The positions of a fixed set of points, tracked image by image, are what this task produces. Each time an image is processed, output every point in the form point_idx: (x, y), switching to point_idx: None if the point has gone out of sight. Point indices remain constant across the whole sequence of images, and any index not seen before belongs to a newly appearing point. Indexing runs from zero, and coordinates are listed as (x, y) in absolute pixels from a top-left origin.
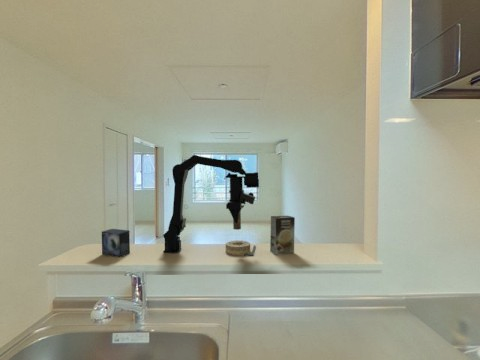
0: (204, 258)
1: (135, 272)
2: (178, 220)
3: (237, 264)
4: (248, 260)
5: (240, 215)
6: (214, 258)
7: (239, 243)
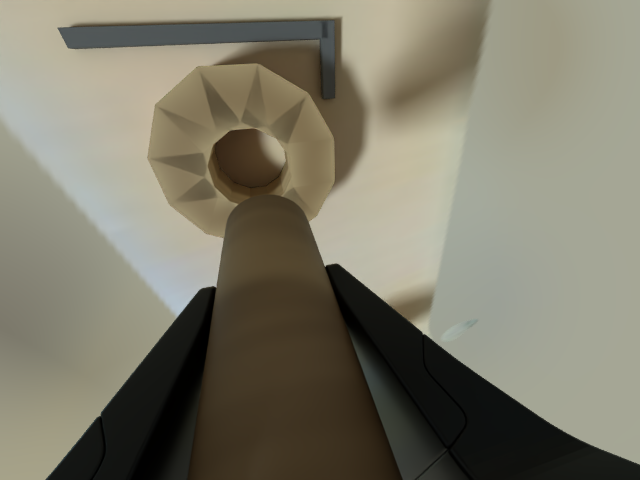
0: (382, 254)
1: (468, 325)
2: None
3: (468, 103)
4: (417, 46)
5: (289, 340)
6: (382, 224)
7: (210, 167)
